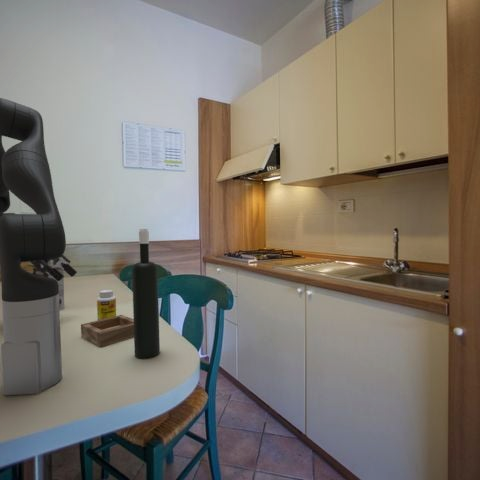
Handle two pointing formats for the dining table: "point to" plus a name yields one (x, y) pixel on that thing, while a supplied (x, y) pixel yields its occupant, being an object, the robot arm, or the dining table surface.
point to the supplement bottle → (106, 305)
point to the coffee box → (60, 283)
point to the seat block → (108, 330)
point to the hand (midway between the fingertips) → (68, 276)
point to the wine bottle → (145, 302)
